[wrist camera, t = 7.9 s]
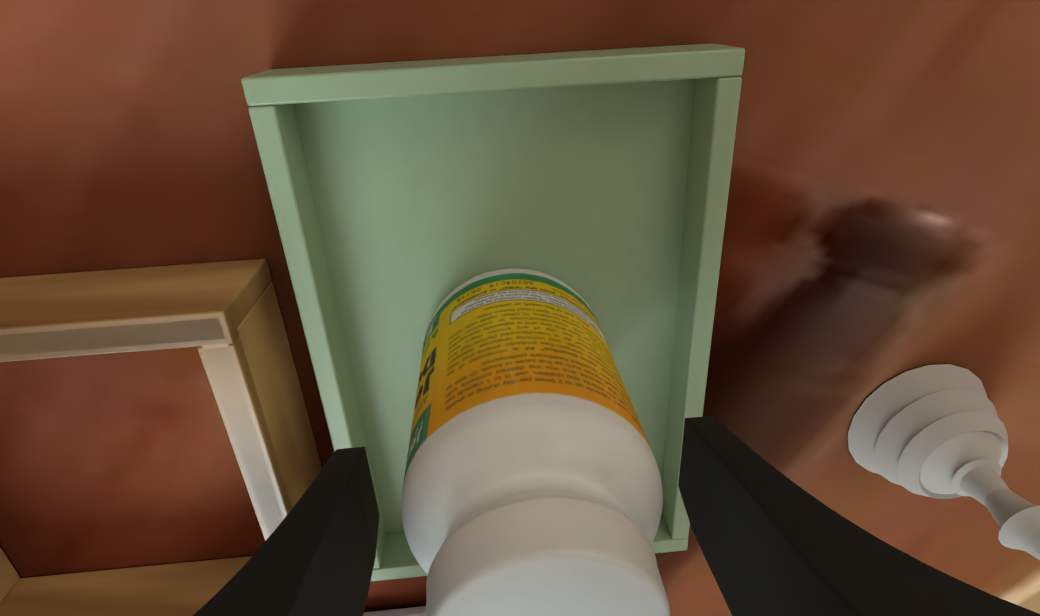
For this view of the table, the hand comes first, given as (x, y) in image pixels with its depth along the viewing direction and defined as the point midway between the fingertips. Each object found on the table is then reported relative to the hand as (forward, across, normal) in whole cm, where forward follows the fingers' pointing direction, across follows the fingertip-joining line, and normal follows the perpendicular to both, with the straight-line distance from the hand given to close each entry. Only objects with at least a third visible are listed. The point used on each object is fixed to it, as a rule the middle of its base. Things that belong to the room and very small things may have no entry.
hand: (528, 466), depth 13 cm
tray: (+6, 0, 0) cm, 6 cm away
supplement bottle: (+6, 0, 0) cm, 6 cm away
